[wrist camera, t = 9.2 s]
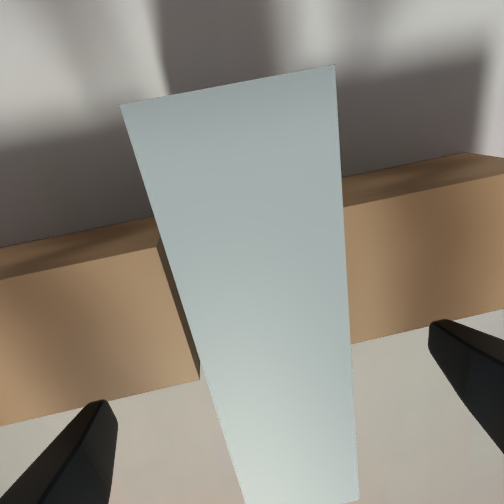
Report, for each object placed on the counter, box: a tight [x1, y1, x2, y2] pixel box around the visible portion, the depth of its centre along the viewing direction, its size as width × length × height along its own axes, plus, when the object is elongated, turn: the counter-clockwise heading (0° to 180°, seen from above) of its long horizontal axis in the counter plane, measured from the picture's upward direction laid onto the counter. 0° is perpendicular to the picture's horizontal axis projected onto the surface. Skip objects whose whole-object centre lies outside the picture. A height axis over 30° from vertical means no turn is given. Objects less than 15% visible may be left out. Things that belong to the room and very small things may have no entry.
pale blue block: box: [119, 64, 359, 504], centre depth 11 cm, size 14×4×6 cm, turn 10°
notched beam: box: [0, 153, 504, 426], centre depth 14 cm, size 22×6×4 cm, turn 100°
